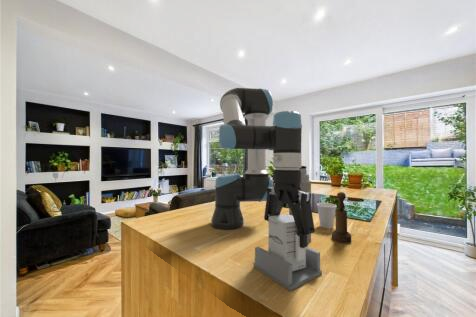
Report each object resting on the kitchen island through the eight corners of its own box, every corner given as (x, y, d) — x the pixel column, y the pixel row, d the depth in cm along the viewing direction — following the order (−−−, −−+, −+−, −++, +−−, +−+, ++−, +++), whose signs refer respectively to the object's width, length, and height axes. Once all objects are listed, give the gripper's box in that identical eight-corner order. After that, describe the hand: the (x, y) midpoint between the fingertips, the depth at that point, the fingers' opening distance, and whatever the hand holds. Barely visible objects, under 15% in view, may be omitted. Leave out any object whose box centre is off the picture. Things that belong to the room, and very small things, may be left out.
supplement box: (267, 261, 56) (267, 215, 57) (288, 256, 59) (288, 213, 60) (284, 274, 49) (284, 222, 50) (307, 268, 53) (306, 219, 53)
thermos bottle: (309, 236, 79) (309, 165, 80) (312, 244, 72) (312, 166, 72) (288, 234, 81) (288, 165, 82) (289, 242, 73) (289, 165, 74)
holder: (253, 266, 56) (253, 246, 56) (284, 255, 63) (284, 237, 63) (290, 291, 46) (290, 266, 46) (321, 274, 53) (321, 252, 53)
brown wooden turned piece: (329, 239, 76) (329, 192, 77) (334, 235, 81) (334, 190, 81) (348, 244, 72) (348, 194, 72) (353, 239, 77) (353, 192, 77)
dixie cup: (316, 222, 97) (316, 202, 98) (335, 224, 94) (335, 203, 95) (317, 228, 89) (317, 205, 90) (337, 230, 87) (337, 207, 87)
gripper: (252, 168, 61) (251, 242, 61) (312, 170, 44) (312, 275, 44) (269, 167, 66) (269, 237, 65) (331, 170, 49) (331, 265, 48)
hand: (286, 252), depth 55 cm, fingers open, 8 cm apart
